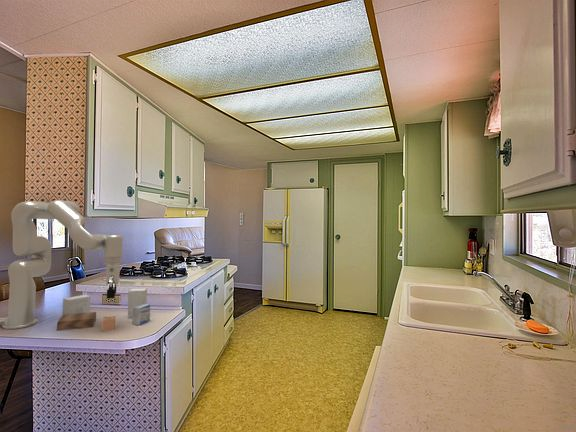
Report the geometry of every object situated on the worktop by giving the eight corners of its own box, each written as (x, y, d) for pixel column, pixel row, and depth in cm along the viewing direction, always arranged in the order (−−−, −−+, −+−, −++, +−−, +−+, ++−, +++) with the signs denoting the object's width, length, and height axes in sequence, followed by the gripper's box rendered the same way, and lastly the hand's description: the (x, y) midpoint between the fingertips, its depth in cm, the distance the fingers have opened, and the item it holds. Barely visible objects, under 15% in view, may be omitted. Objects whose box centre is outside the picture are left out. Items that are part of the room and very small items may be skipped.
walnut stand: (56, 330, 135) (57, 321, 135) (62, 322, 146) (63, 314, 146) (92, 326, 142) (93, 318, 142) (95, 319, 152) (96, 311, 152)
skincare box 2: (146, 314, 164) (148, 287, 164) (143, 317, 158) (144, 290, 158) (130, 314, 162) (131, 287, 163) (126, 318, 156) (128, 290, 157)
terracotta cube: (101, 331, 137) (102, 320, 137) (102, 327, 141) (103, 317, 142) (114, 329, 139) (114, 319, 139) (114, 326, 144) (115, 316, 144)
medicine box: (139, 325, 146) (140, 308, 146) (131, 324, 147) (132, 307, 147) (149, 320, 154) (150, 304, 154) (142, 320, 155) (143, 303, 155)
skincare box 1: (83, 313, 162) (84, 294, 162) (89, 315, 159) (90, 296, 159) (61, 318, 153) (62, 298, 153) (67, 320, 150) (69, 299, 150)
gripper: (120, 262, 136) (119, 299, 135) (122, 258, 151) (121, 291, 150) (101, 262, 132) (100, 300, 132) (105, 258, 148) (104, 293, 147)
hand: (111, 295), depth 141 cm, fingers open, 9 cm apart
